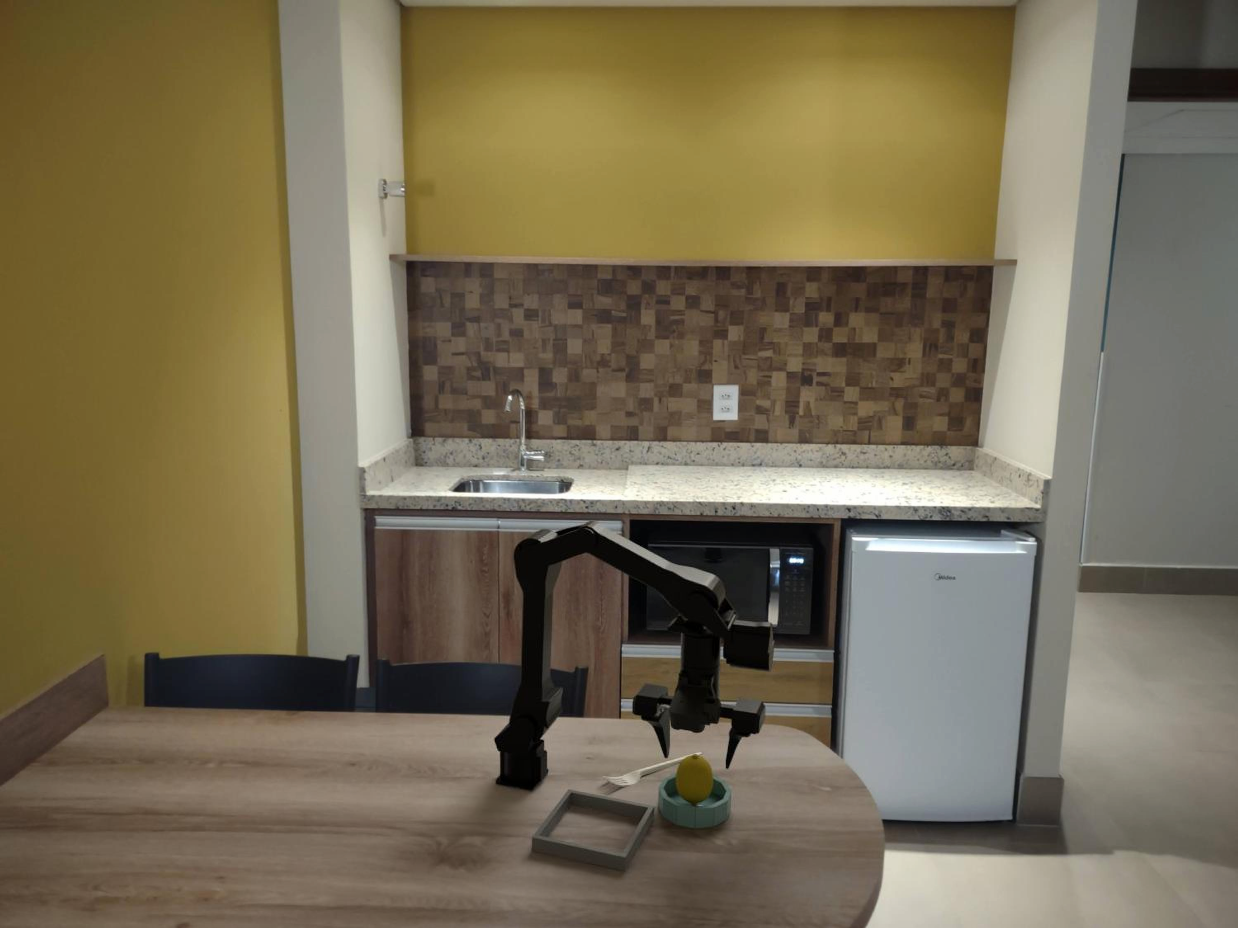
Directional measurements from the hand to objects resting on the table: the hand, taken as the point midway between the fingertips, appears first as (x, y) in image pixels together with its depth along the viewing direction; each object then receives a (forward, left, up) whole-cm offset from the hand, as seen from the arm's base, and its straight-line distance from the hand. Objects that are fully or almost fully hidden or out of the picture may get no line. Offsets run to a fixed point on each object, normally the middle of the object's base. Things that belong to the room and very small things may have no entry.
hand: (696, 762), depth 136 cm
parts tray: (-12, -12, -7) cm, 18 cm away
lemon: (0, 0, -7) cm, 7 cm away
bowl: (0, 0, -7) cm, 7 cm away
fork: (-9, +9, -8) cm, 15 cm away
